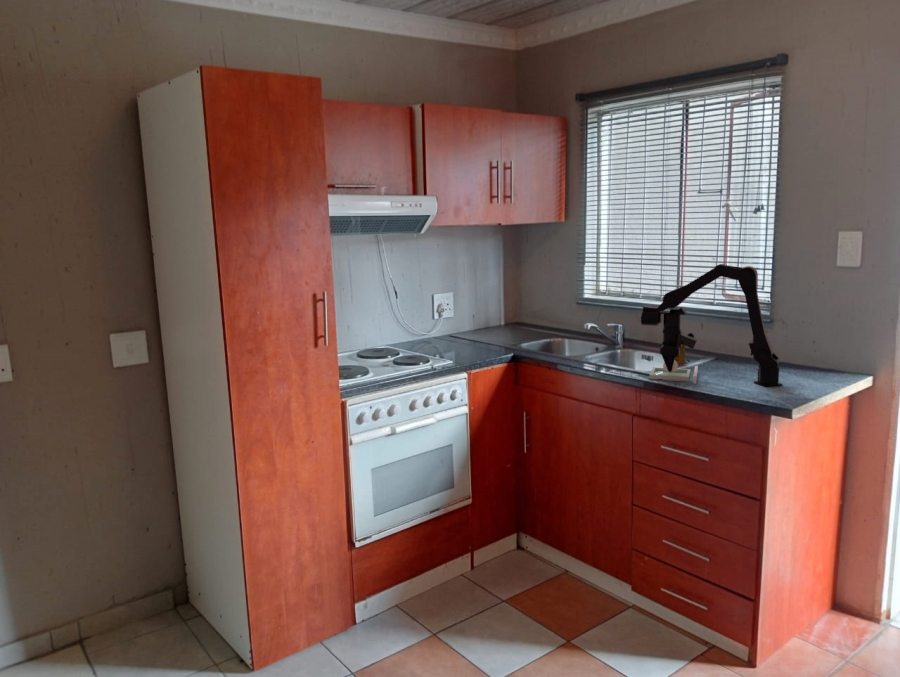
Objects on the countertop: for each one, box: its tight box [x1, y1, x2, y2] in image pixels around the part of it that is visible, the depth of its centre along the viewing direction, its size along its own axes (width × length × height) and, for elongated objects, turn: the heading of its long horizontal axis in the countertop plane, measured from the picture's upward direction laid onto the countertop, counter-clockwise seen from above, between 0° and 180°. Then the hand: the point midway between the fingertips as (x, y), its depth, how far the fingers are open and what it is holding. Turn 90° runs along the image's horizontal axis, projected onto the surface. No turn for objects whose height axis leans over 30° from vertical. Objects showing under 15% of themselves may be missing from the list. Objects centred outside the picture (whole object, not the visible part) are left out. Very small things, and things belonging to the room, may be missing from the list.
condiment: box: [675, 332, 689, 367], centre depth 264 cm, size 7×8×12 cm
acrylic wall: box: [692, 365, 699, 384], centre depth 240 cm, size 18×1×2 cm, turn 159°
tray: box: [649, 367, 691, 382], centre depth 243 cm, size 13×13×2 cm
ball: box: [662, 360, 679, 373], centre depth 243 cm, size 5×5×5 cm
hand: (670, 370), depth 243 cm, fingers closed on ball, 5 cm apart
